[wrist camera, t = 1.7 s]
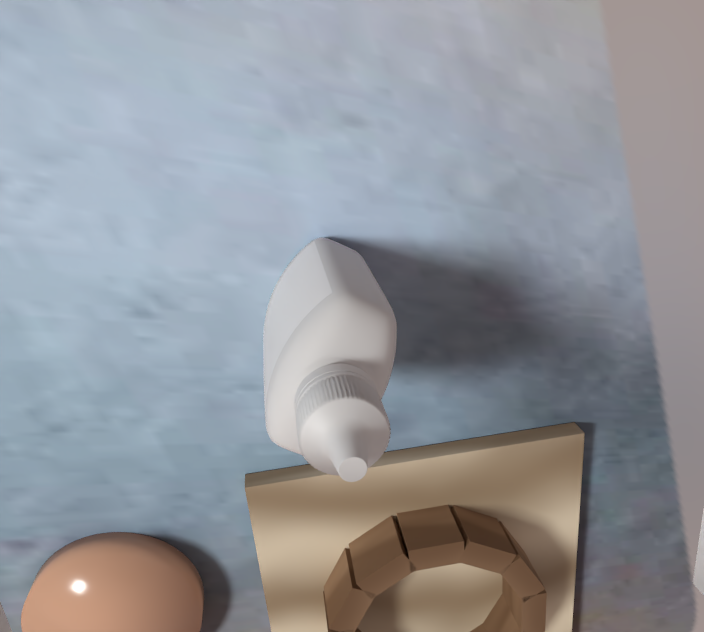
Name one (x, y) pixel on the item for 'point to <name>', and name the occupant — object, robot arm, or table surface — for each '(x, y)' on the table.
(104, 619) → the peach domed part
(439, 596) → the ring collar
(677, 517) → the table surface
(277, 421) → the eye dropper bottle
